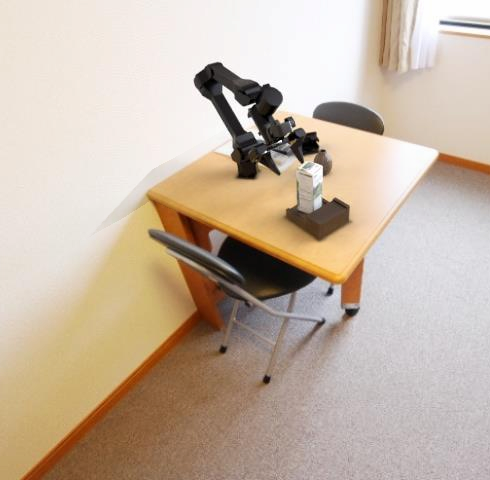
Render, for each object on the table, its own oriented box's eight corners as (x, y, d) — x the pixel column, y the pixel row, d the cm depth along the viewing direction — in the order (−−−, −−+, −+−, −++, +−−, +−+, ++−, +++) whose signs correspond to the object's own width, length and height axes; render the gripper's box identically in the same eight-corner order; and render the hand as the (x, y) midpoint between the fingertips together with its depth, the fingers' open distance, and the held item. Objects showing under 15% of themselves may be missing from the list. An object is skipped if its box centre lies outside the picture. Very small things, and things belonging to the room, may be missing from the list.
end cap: (314, 144, 145) (314, 128, 140) (320, 152, 140) (320, 136, 135) (291, 148, 142) (290, 132, 138) (296, 156, 137) (295, 140, 133)
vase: (330, 178, 125) (331, 156, 119) (311, 176, 126) (311, 154, 120) (333, 168, 130) (334, 146, 124) (315, 167, 131) (315, 145, 125)
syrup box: (306, 200, 111) (305, 159, 101) (323, 206, 109) (323, 164, 99) (297, 210, 107) (294, 168, 98) (313, 216, 105) (312, 174, 95)
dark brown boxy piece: (286, 217, 109) (284, 201, 105) (315, 200, 115) (315, 185, 111) (319, 240, 101) (319, 224, 97) (348, 221, 107) (349, 205, 103)
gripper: (248, 119, 93) (277, 171, 94) (301, 100, 102) (327, 148, 103) (236, 137, 102) (263, 184, 104) (285, 119, 112) (310, 162, 113)
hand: (291, 169), depth 106 cm, fingers open, 9 cm apart
